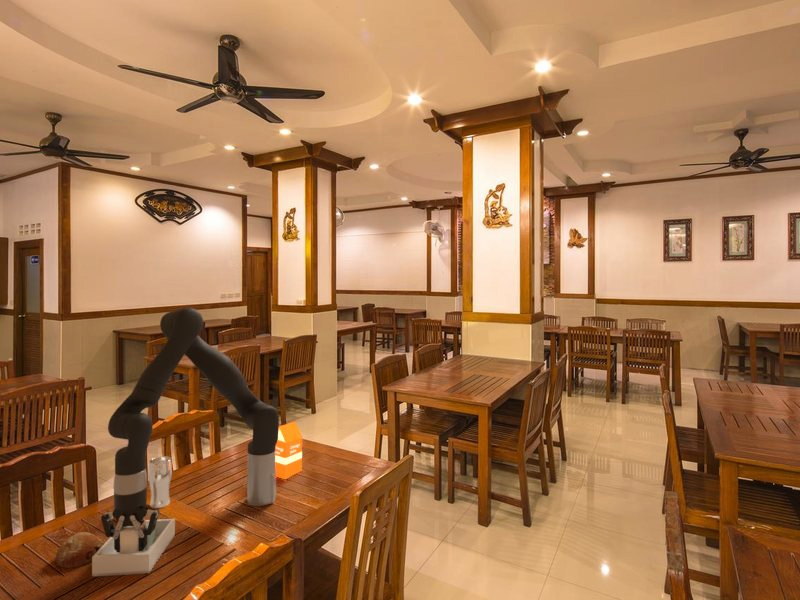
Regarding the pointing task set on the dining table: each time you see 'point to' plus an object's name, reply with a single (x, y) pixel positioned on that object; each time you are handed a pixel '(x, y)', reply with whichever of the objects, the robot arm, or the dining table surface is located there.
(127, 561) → the grey tote
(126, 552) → the white pillar candle
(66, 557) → the bread roll
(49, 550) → the dining table surface
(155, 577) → the dining table surface
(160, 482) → the beer glass
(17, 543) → the dining table surface
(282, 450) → the orange juice
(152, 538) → the sage block
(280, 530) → the dining table surface
